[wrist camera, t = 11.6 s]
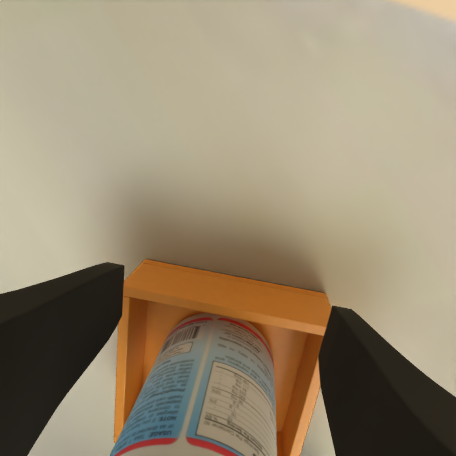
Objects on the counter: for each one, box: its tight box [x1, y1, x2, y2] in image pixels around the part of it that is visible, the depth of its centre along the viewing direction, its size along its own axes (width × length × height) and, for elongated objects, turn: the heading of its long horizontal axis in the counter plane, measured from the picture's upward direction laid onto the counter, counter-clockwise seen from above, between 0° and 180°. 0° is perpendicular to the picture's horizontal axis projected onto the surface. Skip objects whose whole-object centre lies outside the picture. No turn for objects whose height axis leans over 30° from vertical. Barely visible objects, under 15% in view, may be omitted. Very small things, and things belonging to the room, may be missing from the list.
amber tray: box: [114, 259, 331, 456], centre depth 17 cm, size 10×10×3 cm
